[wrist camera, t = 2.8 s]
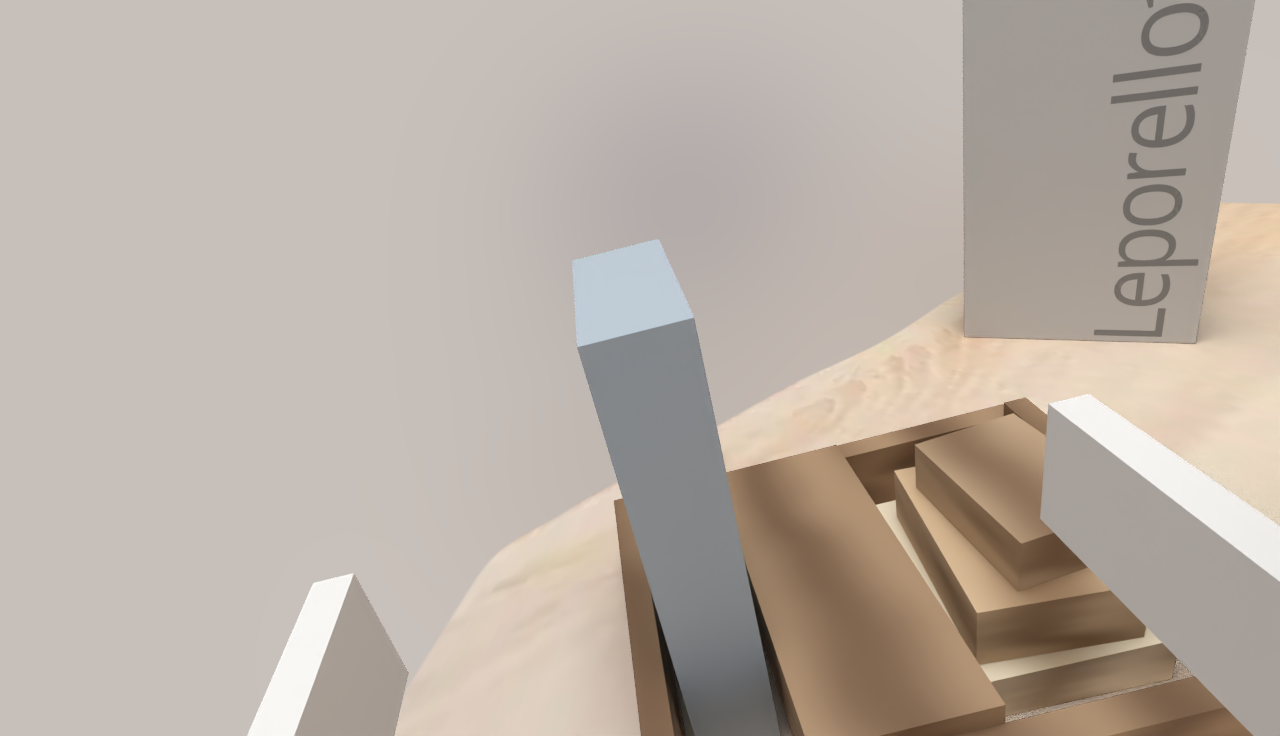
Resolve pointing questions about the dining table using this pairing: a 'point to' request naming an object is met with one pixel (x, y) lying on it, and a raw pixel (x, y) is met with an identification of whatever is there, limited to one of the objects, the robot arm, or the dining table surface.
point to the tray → (871, 613)
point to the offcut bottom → (1061, 659)
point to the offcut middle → (1007, 592)
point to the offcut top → (996, 497)
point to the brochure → (1095, 163)
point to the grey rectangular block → (674, 482)
